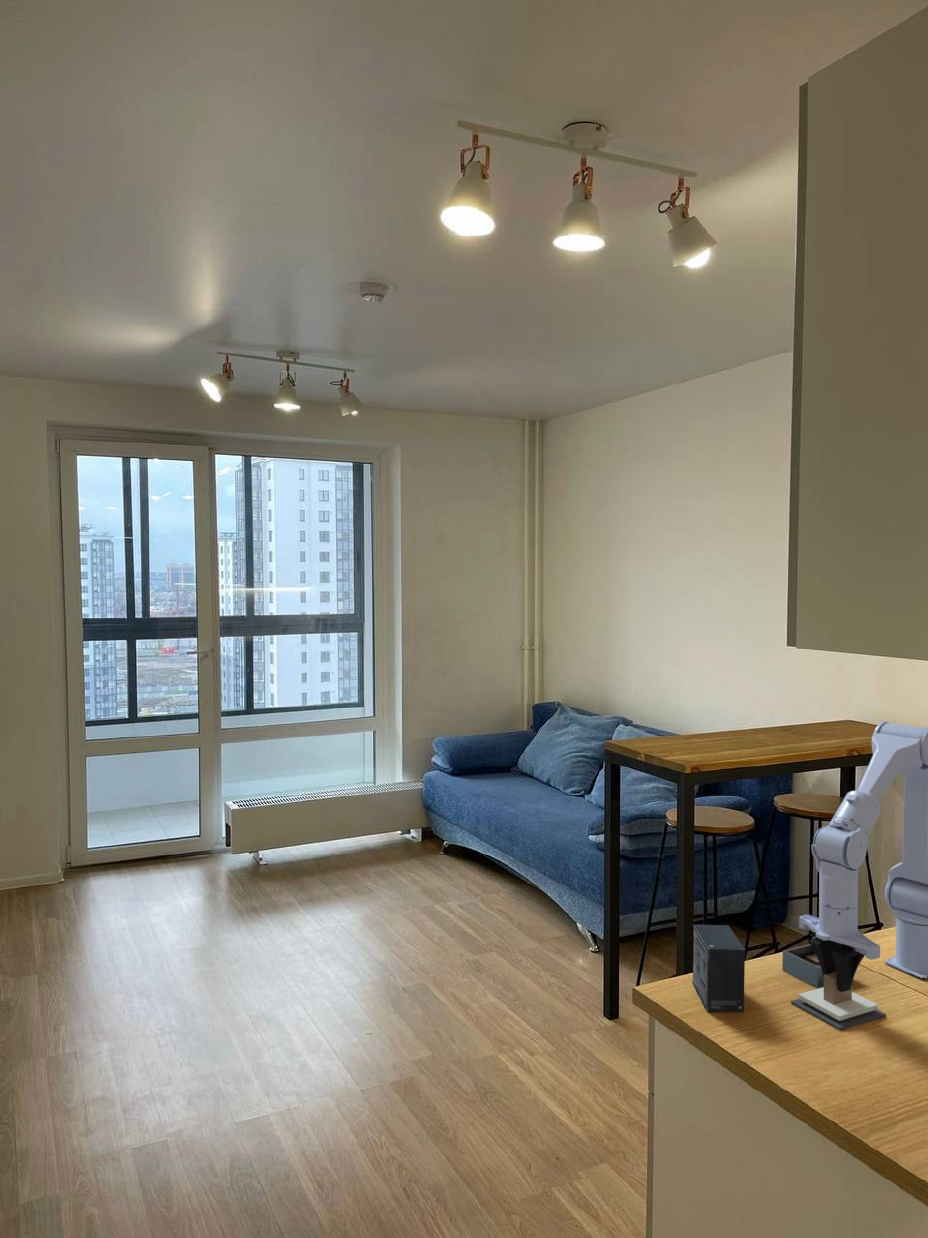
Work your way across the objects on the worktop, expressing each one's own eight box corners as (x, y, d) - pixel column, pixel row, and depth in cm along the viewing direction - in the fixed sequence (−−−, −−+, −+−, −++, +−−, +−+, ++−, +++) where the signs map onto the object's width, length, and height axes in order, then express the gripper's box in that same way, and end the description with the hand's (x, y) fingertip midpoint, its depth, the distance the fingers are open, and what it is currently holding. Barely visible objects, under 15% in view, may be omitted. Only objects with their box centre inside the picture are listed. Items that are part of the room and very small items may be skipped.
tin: (815, 961, 166) (816, 942, 166) (851, 978, 159) (852, 958, 159) (782, 969, 163) (782, 950, 162) (817, 988, 155) (817, 967, 155)
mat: (835, 990, 154) (835, 988, 154) (885, 1016, 145) (885, 1013, 145) (790, 1003, 150) (790, 1000, 150) (839, 1030, 141) (839, 1027, 141)
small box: (747, 1012, 147) (747, 948, 147) (706, 1012, 147) (706, 948, 147) (729, 983, 158) (729, 923, 157) (691, 983, 158) (691, 923, 157)
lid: (836, 991, 153) (836, 959, 153) (878, 1012, 146) (878, 979, 146) (798, 1001, 150) (798, 969, 150) (839, 1024, 142) (839, 990, 142)
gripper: (785, 893, 152) (785, 973, 152) (857, 922, 139) (856, 1010, 139) (817, 886, 155) (816, 965, 155) (890, 914, 142) (889, 1001, 142)
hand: (837, 986), depth 148 cm, fingers closed on lid
